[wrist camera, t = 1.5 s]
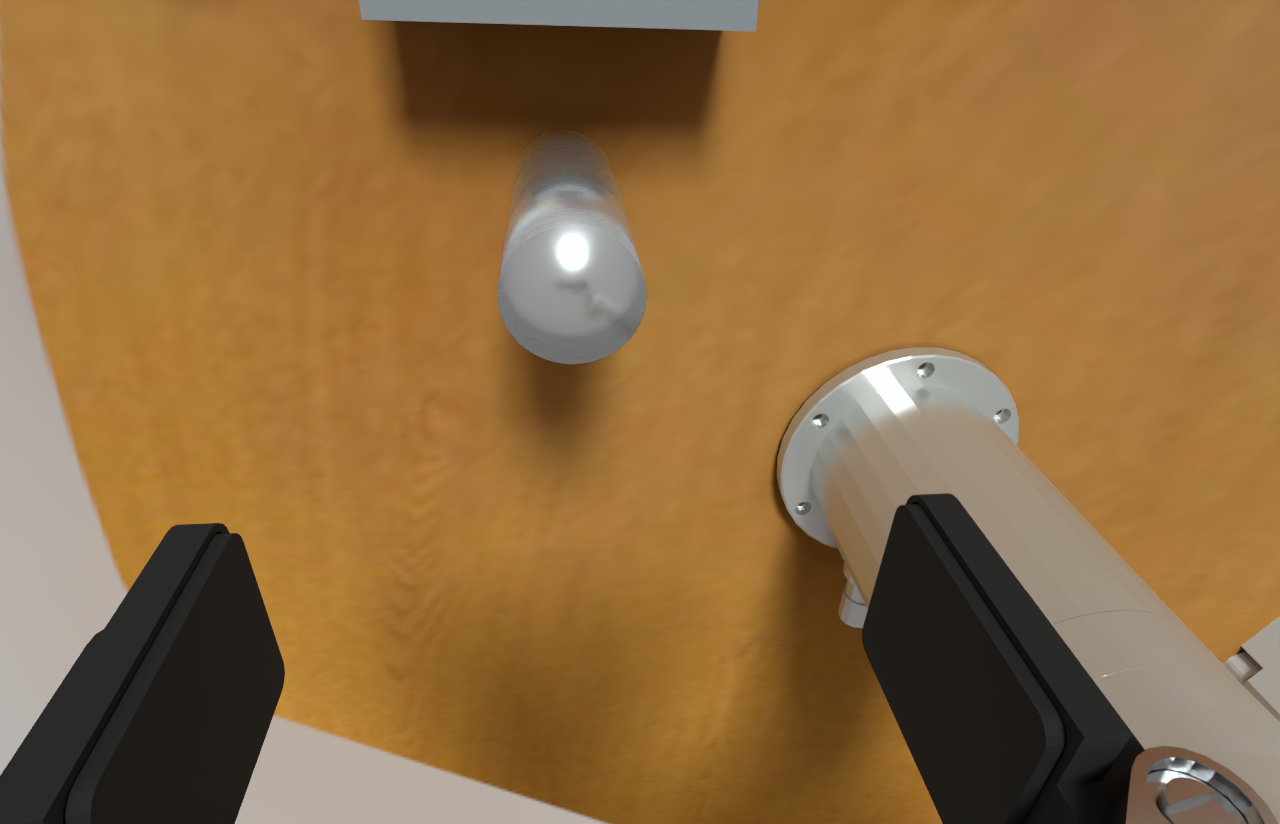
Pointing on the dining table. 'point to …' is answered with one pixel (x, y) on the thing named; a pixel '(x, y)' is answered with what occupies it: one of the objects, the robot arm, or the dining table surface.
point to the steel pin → (569, 254)
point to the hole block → (574, 12)
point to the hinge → (1260, 667)
